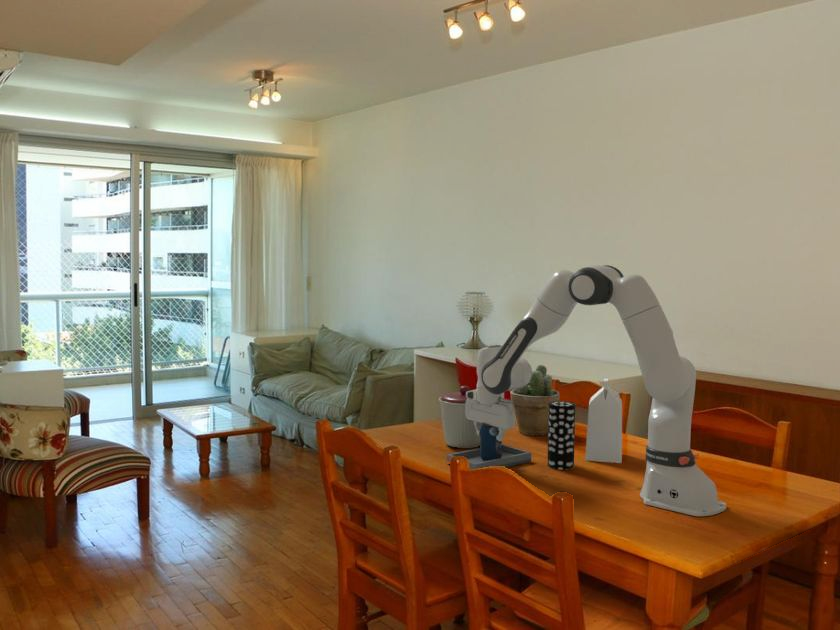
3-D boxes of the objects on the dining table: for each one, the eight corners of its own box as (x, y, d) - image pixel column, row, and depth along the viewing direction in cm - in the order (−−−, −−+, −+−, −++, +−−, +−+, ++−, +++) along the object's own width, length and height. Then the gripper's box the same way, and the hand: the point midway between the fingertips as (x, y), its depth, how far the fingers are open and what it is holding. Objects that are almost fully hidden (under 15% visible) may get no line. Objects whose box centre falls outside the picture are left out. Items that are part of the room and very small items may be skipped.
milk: (587, 451, 254) (589, 376, 252) (622, 453, 251) (624, 377, 249) (585, 460, 242) (587, 381, 240) (621, 463, 239) (623, 383, 237)
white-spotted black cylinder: (573, 470, 230) (575, 407, 229) (546, 468, 232) (548, 405, 231) (573, 463, 239) (575, 402, 237) (547, 461, 240) (549, 400, 239)
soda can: (501, 462, 235) (502, 425, 234) (480, 462, 235) (480, 425, 234) (501, 457, 241) (502, 420, 241) (480, 456, 242) (480, 420, 241)
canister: (461, 436, 274) (462, 379, 272) (500, 445, 261) (501, 386, 259) (427, 444, 261) (428, 385, 259) (466, 454, 248) (466, 392, 246)
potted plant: (562, 438, 271) (564, 371, 269) (512, 438, 271) (513, 370, 269) (554, 427, 289) (555, 364, 287) (507, 426, 290) (508, 363, 288)
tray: (531, 461, 240) (531, 452, 240) (475, 474, 226) (475, 464, 225) (501, 452, 251) (501, 443, 251) (446, 463, 237) (446, 454, 237)
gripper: (520, 399, 230) (519, 443, 231) (476, 389, 247) (476, 430, 248) (505, 401, 227) (504, 446, 228) (462, 391, 243) (461, 433, 244)
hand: (489, 438), depth 238 cm, fingers open, 8 cm apart
